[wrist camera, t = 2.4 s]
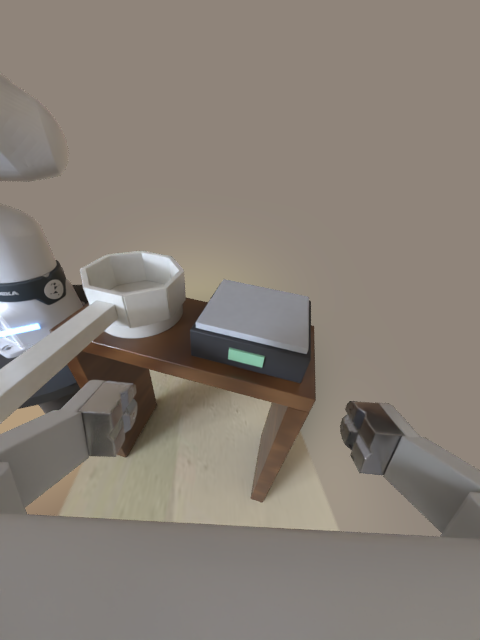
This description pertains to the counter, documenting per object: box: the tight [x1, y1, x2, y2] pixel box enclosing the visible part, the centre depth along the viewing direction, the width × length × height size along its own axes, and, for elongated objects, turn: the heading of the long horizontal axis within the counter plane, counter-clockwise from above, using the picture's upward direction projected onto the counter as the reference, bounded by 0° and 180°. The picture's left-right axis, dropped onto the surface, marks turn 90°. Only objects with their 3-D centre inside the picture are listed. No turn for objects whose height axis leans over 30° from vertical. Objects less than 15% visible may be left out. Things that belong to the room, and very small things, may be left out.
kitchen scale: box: [190, 280, 311, 383], centre depth 18 cm, size 8×7×3 cm
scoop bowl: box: [0, 251, 186, 424], centre depth 14 cm, size 7×19×4 cm, turn 166°
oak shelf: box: [49, 298, 316, 502], centre depth 26 cm, size 20×8×22 cm, turn 76°
